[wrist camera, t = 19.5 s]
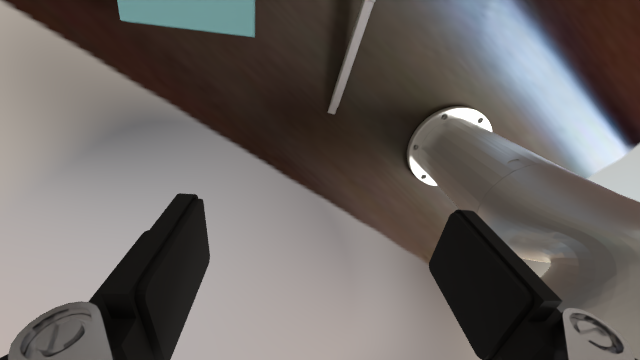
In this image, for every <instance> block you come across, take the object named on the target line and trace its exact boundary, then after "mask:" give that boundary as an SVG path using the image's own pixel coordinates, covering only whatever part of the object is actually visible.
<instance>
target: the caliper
mask: <svg viewBox="0 0 640 360" xmlns="http://www.w3.org/2000/svg"><path fill="white" fill-rule="evenodd" d="M375 1H376V0H363V1H362V4H361V7H360V10H359V13H358V16H357V20H356V23H355V26H354V29H353V32H352V35H351V38H350V42H349V45H348V48H347V51H346V54H345V57H344V60H343V63H342V67H341V70H340V73H339V76H338V79H337V82H336V85H335V88H334V92H333V95H332V99H331V102H330V106H329V109H328V113H331V114H335V112H336V109H337V108H338V106H339V103H340V100H341V97H342V94H343V91H344V88H345V85H346V83H347V80H348V77H349V74H350V71H351V68H352V65H353V62H354V59H355V56H356V53H357V51H358V48H359V45H360V42H361V39H362V36H363V33H364V30H365V27H366V24H367V21H368V18H369V16H370V13H371V10H372V7H373V4H374V2H375Z"/></svg>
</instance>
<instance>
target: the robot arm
mask: <svg viewBox="0 0 640 360" xmlns="http://www.w3.org/2000/svg"><path fill="white" fill-rule="evenodd" d="M442 115H443V116H442ZM441 116H442V117H441ZM414 145H415V146H414ZM407 161H408V165H409V168H410V169H411V171H412V173H413V174H414V175H415V176H416V177H417V178H418V179H419V180H420V181H422V182H424V183H426V184H429V185H433V186H439V187H440V188H441V189H442V190H443V191H444V193H445V194H446V195H447V196H448V197H449V198H450V199H451V200H452V201H453V202H454V203H455V204H456V206H457V207H458V208H459V209H460V210H456V211H455V212H454V213H452V214H451V215H450V216H449V218H448V221H447V223H446V225H445V228H444V230H443V232H442V235H441V237H440V239H439V241H438V244H437V246H436V248H435V251H434V253H433V255H432V257H431V260H430V262H429V269H430V272H431V274H432V275H433V277H434V279H435V281H436V283H437V284H438V286H439V288H440V290H441V292H442V293H443V295H444V297H445V299H446V301H447V303H448V305H449V306H450V308H451V310H452V312H453V313H454V315H455V317H456V319H457V321H458V323H459V324H460V326H461V328H462V330H463V332H464V333H465V335H466V337H467V339H468V341H469V343H470V344H471V346H472V348H473V350H474V351H475V353H476V355H477V356H478V357H479V358H480V359H482V360H640V202H638V201H635V200H633V199H630V198H628V197H625V196H623V195H620V194H618V193H615V192H613V191H611V190H609V189H607V188H604V187H602V186H600V185H598V184H596V183H594V182H592V181H590V180H587V179H585V178H583V177H581V176H579V175H577V174H575V173H573V172H571V171H569V170H567V169H565V168H563V167H561V166H559V165H557V164H555V163H553V162H551V161H549V160H547V159H545V158H543V157H541V156H539V155H537V154H535V153H533V152H531V151H529V150H527V149H525V148H523V147H521V146H519V145H517V144H515V143H513V142H511V141H509V140H507V139H505V138H503V137H501V136H499V135H497V134H495V133H493V132H492V128H491V125H490V122H489V121H488V119H487V118H486V117H485V116H484V115H483V114H482V113H481V112H479V111H477V110H475V109H472V108H469V107H464V106H454V107H449V108H445V109H442V110H440V111H438V112H436V113H434V114H432V115H431V116H429V117H428V118H426V119H425V120H424V121H423V122H422V123H421V124H420V125H419V126H418V128H417V129H416V130H415V132H414V133H413V135H412V137H411V139H410V142H409V145H408V149H407ZM521 258H523V259H528V260H533V261H540V262H547V263H551V264H550V267H549V269H548V271H546V272H545V273H544V274H543V275H542V277H538V275H536V274H535V272H533V270H532V269H531V268H529V266H528V265H527V264H526V263H525V262H524V261H523V260H522V259H521ZM209 259H210V253H209V244H208V237H207V228H206V220H205V212H204V204H203V200H202V199H198V196H197V195H195V194H177V195H176V197H175V198H174V199H173V200H172V202H171V203H170V204H169V206H168V207H167V208H166V209H165V211H164V212H163V213H162V215H161V216H160V217H159V219H158V220H157V221H156V222H155V224H154V225H153V226H152V228H151V229H150V230H148V231H145V232H144V233H143V234H142V235H141V236H140V237H139V239H138V240H137V241H136V242H135V244H134V245H133V246H132V248H131V249H130V250H129V251H128V253H127V254H126V255H125V256H124V258H123V259H122V260H121V261H120V263H119V264H118V265H117V266H116V268H115V269H114V270H113V271H112V273H111V274H110V275H109V276H108V278H107V279H106V280H105V282H104V283H103V284H102V285H101V287H100V288H99V289H98V290H97V292H96V293H95V294H94V295H93V297H92V298H91V299H90V301H89V302H74V303H68V304H65V305H62V306H59V307H56V308H54V309H52V310H50V311H48V312H46V313H44V314H42V315H40V316H39V317H38V318H36V319H35V320H33V321H32V322H31V323H29V324H28V325H27V326H26V327H25V328H24V329H23V330H22V331H21V332H20V333H19V334H18V335H17V337H16V338H15V340H14V341H13V342H12V344H11V347H10V351H9V354H7V355H5V356H3V357H1V358H0V360H170V359H171V356H172V354H173V352H174V349H175V347H176V344H177V342H178V339H179V337H180V334H181V332H182V329H183V327H184V324H185V322H186V319H187V317H188V314H189V312H190V309H191V307H192V304H193V302H194V299H195V297H196V294H197V292H198V289H199V287H200V284H201V282H202V279H203V277H204V274H205V272H206V269H207V267H208V264H209Z"/></svg>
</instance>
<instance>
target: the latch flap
mask: <svg viewBox="0 0 640 360" xmlns="http://www.w3.org/2000/svg"><path fill="white" fill-rule="evenodd" d="M117 2H118V8H119V14H120V20H122V21H126V22H132V23H140V24H148V25H156V26H164V27H173V28H181V29H189V30H197V31H205V32H213V33H221V34H229V35H237V36H245V37H253V38H255V0H117Z"/></svg>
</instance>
